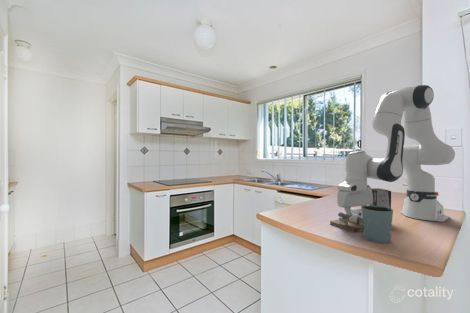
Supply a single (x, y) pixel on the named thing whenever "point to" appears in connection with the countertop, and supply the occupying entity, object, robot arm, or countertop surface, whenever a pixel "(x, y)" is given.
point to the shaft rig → (347, 223)
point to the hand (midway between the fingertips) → (355, 215)
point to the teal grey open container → (377, 223)
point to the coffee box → (381, 197)
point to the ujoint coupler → (355, 215)
